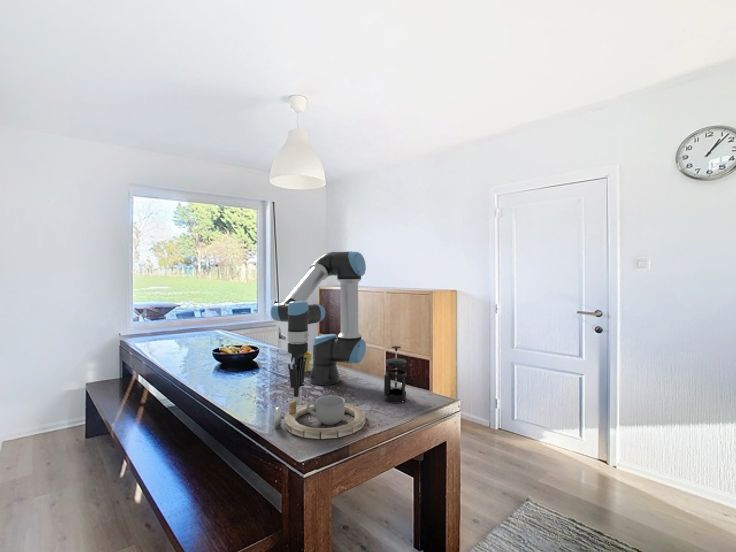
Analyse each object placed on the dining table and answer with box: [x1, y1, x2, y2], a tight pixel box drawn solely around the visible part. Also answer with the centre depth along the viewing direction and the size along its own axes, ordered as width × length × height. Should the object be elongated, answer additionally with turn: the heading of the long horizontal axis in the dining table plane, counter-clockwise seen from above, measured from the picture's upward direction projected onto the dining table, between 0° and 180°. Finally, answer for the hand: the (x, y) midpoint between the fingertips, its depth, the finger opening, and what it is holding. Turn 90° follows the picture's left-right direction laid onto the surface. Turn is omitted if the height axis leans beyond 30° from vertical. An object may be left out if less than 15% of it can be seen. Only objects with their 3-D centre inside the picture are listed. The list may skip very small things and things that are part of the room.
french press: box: [383, 345, 408, 403], centre depth 161 cm, size 12×9×23 cm
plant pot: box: [304, 351, 312, 373], centre depth 207 cm, size 10×10×10 cm
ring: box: [284, 400, 367, 440], centre depth 137 cm, size 29×29×6 cm
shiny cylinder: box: [273, 406, 285, 430], centre depth 132 cm, size 2×3×7 cm
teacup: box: [306, 394, 346, 426], centre depth 138 cm, size 14×11×8 cm
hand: (297, 404), depth 142 cm, fingers closed
